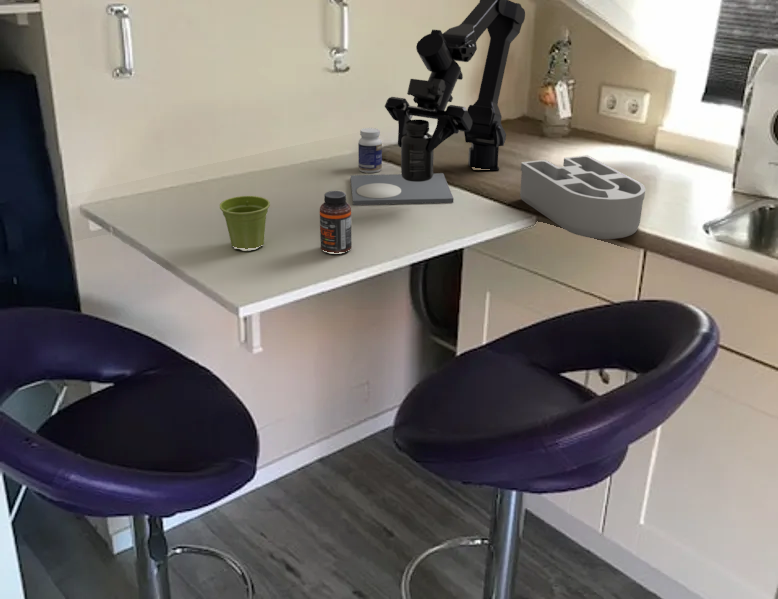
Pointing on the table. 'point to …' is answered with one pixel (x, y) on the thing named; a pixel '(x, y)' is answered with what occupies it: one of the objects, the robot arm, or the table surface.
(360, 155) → the pill bottle
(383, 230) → the table surface
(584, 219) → the grey compartment organizer
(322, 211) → the supplement bottle
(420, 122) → the supplement bottle
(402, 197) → the board
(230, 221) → the plant pot
